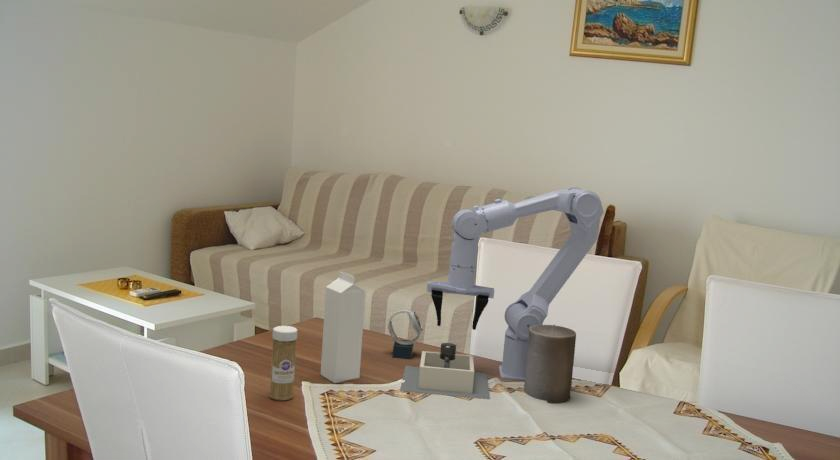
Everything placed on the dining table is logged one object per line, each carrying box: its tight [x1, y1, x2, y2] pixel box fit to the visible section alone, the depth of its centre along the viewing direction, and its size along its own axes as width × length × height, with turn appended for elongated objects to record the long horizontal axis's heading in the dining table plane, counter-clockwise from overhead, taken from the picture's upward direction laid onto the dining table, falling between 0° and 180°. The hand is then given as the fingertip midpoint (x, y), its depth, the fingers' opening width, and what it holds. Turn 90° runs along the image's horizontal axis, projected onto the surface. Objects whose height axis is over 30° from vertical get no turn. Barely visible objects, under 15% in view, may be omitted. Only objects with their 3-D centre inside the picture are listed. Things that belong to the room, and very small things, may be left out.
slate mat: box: [399, 365, 491, 400], centre depth 154 cm, size 18×16×1 cm
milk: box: [320, 270, 366, 384], centre depth 152 cm, size 6×6×22 cm
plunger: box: [439, 342, 457, 368], centre depth 154 cm, size 9×9×7 cm
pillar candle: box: [523, 324, 577, 403], centre depth 152 cm, size 10×10×15 cm
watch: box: [387, 308, 424, 360], centre depth 170 cm, size 6×8×11 cm
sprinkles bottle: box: [269, 325, 298, 401], centre depth 139 cm, size 5×5×13 cm
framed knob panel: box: [418, 350, 475, 393], centre depth 154 cm, size 11×11×4 cm
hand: (456, 326), depth 161 cm, fingers open, 7 cm apart
